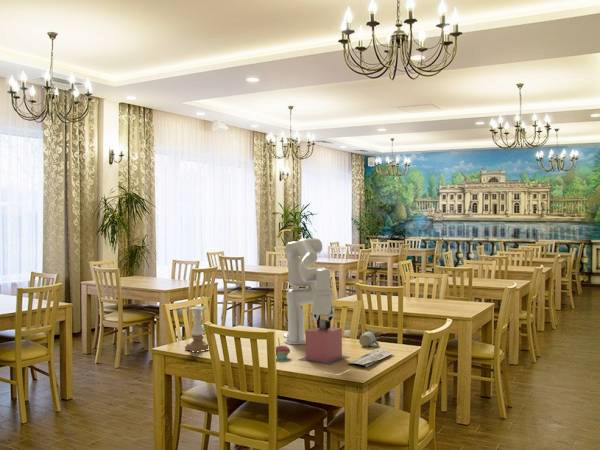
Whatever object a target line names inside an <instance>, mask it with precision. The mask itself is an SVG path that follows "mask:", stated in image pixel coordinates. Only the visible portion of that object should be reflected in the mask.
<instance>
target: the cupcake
mask: <svg viewBox="0 0 600 450" xmlns="http://www.w3.org/2000/svg"><path fill="white" fill-rule="evenodd" d="M277 342H278V343H277V344H278V345H277V346H276V354H275V356H276V360H287V359H288V355H289V354H291V349H290V347H288V346H287V345H281V343H280V338H279V337H277Z"/></svg>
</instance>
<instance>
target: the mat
mask: <svg viewBox="0 0 600 450" xmlns="http://www.w3.org/2000/svg"><path fill="white" fill-rule="evenodd" d="M349 358H350V356H346V355H342V357H341V358H339V359H336V360H334V361H331V362H329V363H325V362H319V361H312V360H306V356H305V357H304V356H303V357H301V358H299V359H297V361H300V362H301V361H302V362H308V363H314V364H315V363H316V364H321V365H328V366H331V365H334V364H336V363H339V362H342V361H345V360H347V359H349Z"/></svg>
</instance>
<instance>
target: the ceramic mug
mask: <svg viewBox="0 0 600 450" xmlns="http://www.w3.org/2000/svg"><path fill="white" fill-rule="evenodd" d="M376 339H377V337H376V336H375V334H374V333H373V332H372V331H365V332H364V333H363V334H361V335H360V336H359V341H358V342H359V344H360V345H361V346H362V347H363V348H367V347H370V346H372V347H373V348H378V347H379V345H380V343H379V342H378V341H377V340H376Z"/></svg>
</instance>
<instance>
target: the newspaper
mask: <svg viewBox="0 0 600 450" xmlns="http://www.w3.org/2000/svg"><path fill="white" fill-rule="evenodd" d="M392 354H394V352H391V350H383V349H373V350H372V351H370V352H367V353H366V354H364V355H362V356H360V357H358V358H356V359H355V360H352V361H351V362H349V363H347V366H349V365H352V364H357V365H361V366H363V367H364V366H365V367H364V369H367V368H369V366H371V365H374V364H376V363H377V362H379V361H381V360H383V359H384V358H386V357H388V356H390V355H392Z"/></svg>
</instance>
